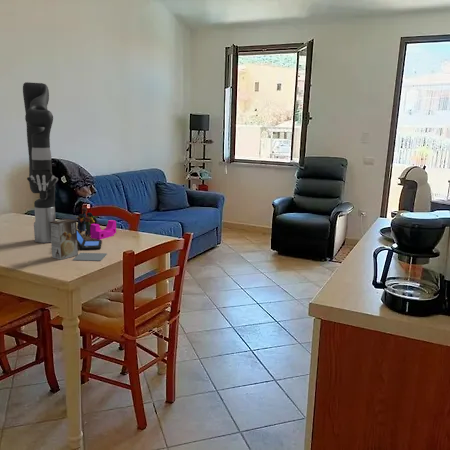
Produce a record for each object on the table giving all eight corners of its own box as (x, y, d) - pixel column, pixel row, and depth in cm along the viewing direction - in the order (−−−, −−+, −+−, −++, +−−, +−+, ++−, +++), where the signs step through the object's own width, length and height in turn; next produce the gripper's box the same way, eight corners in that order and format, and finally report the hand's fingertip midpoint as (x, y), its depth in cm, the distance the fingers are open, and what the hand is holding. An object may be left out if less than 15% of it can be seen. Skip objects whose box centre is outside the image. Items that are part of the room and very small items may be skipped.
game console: (100, 250, 206) (100, 231, 205) (70, 251, 203) (69, 232, 202) (102, 242, 221) (101, 224, 219) (73, 242, 218) (73, 225, 216)
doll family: (68, 231, 241) (67, 207, 239) (83, 229, 248) (83, 205, 245) (88, 239, 225) (87, 213, 222) (104, 236, 231) (103, 211, 229)
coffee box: (68, 253, 199) (67, 218, 196) (78, 255, 196) (77, 220, 193) (51, 257, 192) (49, 221, 188) (61, 260, 188) (59, 223, 185)
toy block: (99, 240, 224) (99, 226, 223) (90, 238, 227) (90, 224, 226) (119, 234, 237) (119, 221, 236) (111, 233, 240) (110, 219, 239)
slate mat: (72, 260, 188) (72, 259, 188) (80, 253, 199) (80, 252, 199) (100, 261, 189) (100, 260, 189) (107, 254, 200) (107, 253, 199)
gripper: (21, 158, 181) (24, 200, 185) (54, 159, 181) (56, 201, 185) (29, 157, 188) (31, 197, 192) (60, 158, 189) (62, 198, 192)
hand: (43, 199), depth 188 cm, fingers closed
